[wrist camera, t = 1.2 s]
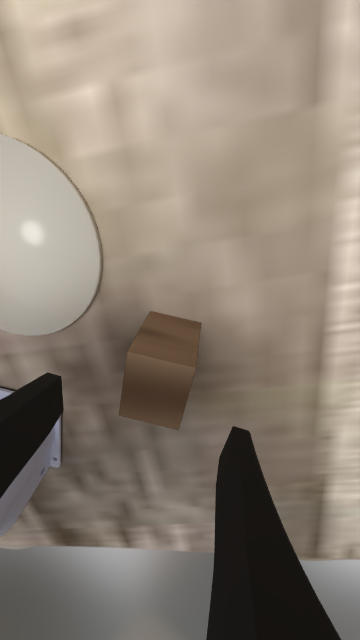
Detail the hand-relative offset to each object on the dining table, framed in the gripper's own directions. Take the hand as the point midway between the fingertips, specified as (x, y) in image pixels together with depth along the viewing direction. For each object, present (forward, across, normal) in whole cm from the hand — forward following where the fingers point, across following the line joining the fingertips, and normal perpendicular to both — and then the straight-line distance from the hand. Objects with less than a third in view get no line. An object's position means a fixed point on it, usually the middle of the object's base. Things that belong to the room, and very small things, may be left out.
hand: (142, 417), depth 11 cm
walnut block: (+10, +1, +3) cm, 11 cm away
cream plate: (+10, +14, -2) cm, 17 cm away
